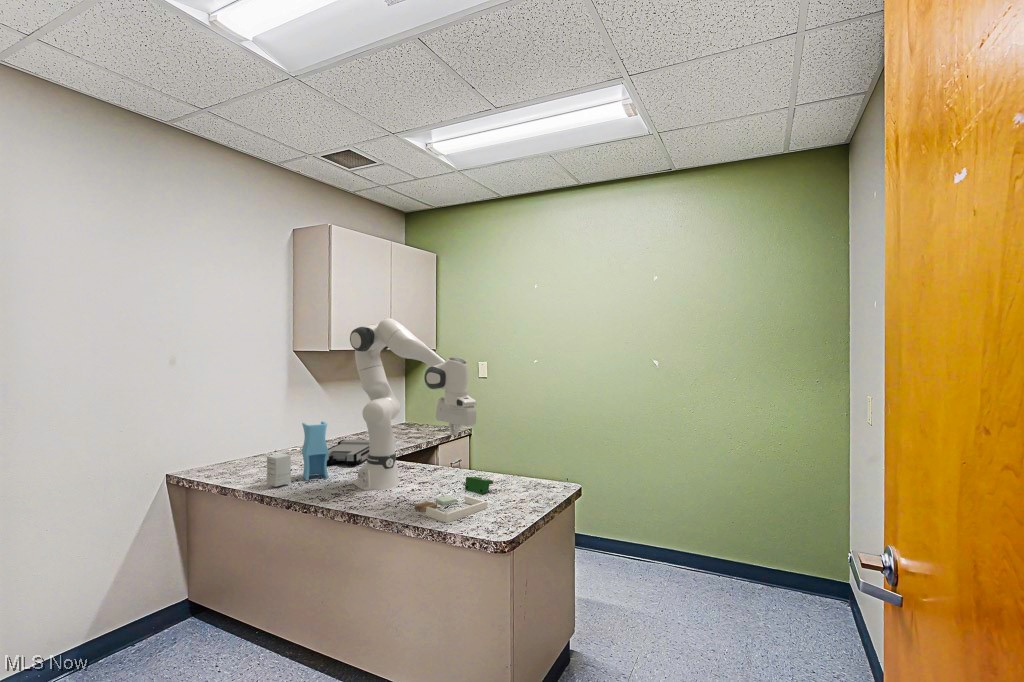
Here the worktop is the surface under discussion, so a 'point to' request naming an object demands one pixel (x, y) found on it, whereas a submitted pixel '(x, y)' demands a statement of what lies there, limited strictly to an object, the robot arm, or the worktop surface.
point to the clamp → (477, 485)
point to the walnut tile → (425, 504)
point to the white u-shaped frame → (451, 516)
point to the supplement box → (278, 469)
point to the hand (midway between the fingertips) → (454, 434)
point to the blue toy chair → (315, 450)
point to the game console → (349, 452)
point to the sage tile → (446, 500)
